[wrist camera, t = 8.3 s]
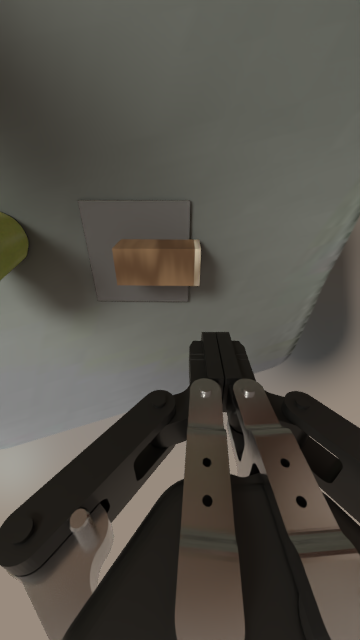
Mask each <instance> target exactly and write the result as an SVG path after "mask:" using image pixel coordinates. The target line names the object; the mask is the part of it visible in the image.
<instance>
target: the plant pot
mask: <svg viewBox="0 0 360 640" xmlns="http://www.w3.org/2000/svg"><path fill="white" fill-rule="evenodd" d="M28 245H29V243H28V239H27V236H26V234H25V232H24V230H23V229H22V227H21V226H20V225H19V224H18V222H17V221H15V220H14V219H13V218H12V217H10V216H8V215H6V214H4V213H2V212H0V280H1V279H2V278H4V277H5V276H6V275H7V274H8V273H9V272H10V271H11V270H12V269H13V268H15V267H16V266H17V265H18V264H19V263H20V262H21V261H22V260H24V259H25V257H26V256H27V251H28Z"/></svg>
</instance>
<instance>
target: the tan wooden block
mask: <svg viewBox="0 0 360 640" xmlns="http://www.w3.org/2000/svg"><path fill="white" fill-rule="evenodd" d="M112 252H113V259H114V266H115V273H116V279H117V285H141V286H199V283H200V261H201V246H200V242H199V240H170V239H121V240H120V241H119V242H118V243H117V244H116V245H115V246H114V247H113V248H112Z"/></svg>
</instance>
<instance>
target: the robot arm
mask: <svg viewBox="0 0 360 640" xmlns="http://www.w3.org/2000/svg"><path fill="white" fill-rule="evenodd" d="M189 378H190V386H189V387H188V388H187V389H186V390H185V391H184V392H182V393H179V394H176V395H172V394H171V393H169V392H168V391H164V390H156V391H153V392H151V393H149V394H148V395H147V396H145V397H144V398H143V399H142V400H141V401H140V402H139V403H137V404H136V405H135V406H134V407H133V408H132V409H131V410H129V411H128V412H127V413H126V414H125V415H124V416H123V417H122V418H120V419H119V420H118V421H117V422H116V423H115V424H114V425H112V426H111V427H110V428H109V429H108V430H107V431H106V432H104V433H103V434H102V435H101V436H100V437H99V438H97V439H96V440H95V441H94V442H93V443H92V444H91V445H90V446H88V447H87V448H86V449H85V450H84V451H83V452H81V453H80V454H79V455H78V456H77V457H76V458H75V459H74V460H72V461H71V462H70V463H69V464H68V465H67V466H66V467H64V468H63V469H62V470H61V471H60V472H59V473H58V474H56V475H55V476H54V477H53V478H52V479H51V480H50V481H48V482H47V483H46V484H45V485H44V486H43V487H42V488H40V489H39V490H38V491H37V492H36V493H35V494H34V495H32V496H31V497H30V498H29V499H28V500H27V501H26V502H25V503H24V504H22V505H21V506H20V507H19V508H18V509H16V510H15V511H14V512H13V513H12V514H11V515H10V516H9V517H8V518H7V519H6V520H5V522H4V523H3V525H2V526H1V528H0V565H1V566H2V567H4V568H5V569H6V570H7V572H8V573H9V574H10V575H11V576H12V577H14V578H15V579H16V580H18V581H19V582H21V583H22V584H23V585H24V587H25V589H26V591H27V594H28V596H29V598H30V600H31V602H32V604H33V606H34V608H35V610H36V612H37V615H38V617H39V619H40V621H41V623H42V625H43V627H44V629H45V631H46V634H47V636H48V638H49V640H360V526H359V525H358V524H357V523H356V522H355V521H354V520H352V518H350V517H349V516H348V515H347V514H346V513H345V512H344V511H343V510H342V509H341V508H340V507H339V506H338V505H337V504H336V503H334V502H333V501H332V500H331V499H330V498H329V497H328V496H327V495H325V494H324V493H323V492H321V490H320V488H321V489H322V490H323V491H325V492H326V493H327V494H328V495H329V496H330V497H331V498H332V499H334V500H335V501H336V502H337V503H338V504H339V505H340V506H341V507H343V508H344V509H345V510H346V511H347V512H348V513H349V514H350V515H351V516H353V517H354V518H355V519H356V520H357V521H358V522H359V523H360V428H359V427H357V426H356V425H354V424H352V423H351V422H349V421H348V420H346V419H345V418H343V417H342V416H340V415H339V414H337V413H336V412H334V411H333V410H331V409H329V408H328V407H326V406H325V405H323V404H322V403H320V402H319V401H317V400H316V399H314V398H313V397H311V396H309V395H308V394H305V393H303V392H298V391H292V392H289V393H287V394H286V396H285V397H282V396H278V395H275V394H271V393H268V392H266V391H265V390H264V389H263V387H262V386H261V385H260V384H259V383H258V382H256V380H255V377H254V374H253V371H252V368H251V366H250V363H249V360H248V357H247V355H246V351H245V348H244V346H243V345H242V344H241V343H240V342H239V341H231V338H230V334H229V332H202V337H201V341H193V342H192V344H191V345H190V350H189ZM223 412H227V416H228V422H227V428H228V432H229V437H230V440H231V444H232V448H233V452H234V456H235V460H236V464H237V472H238V476H235V475H232V474H230V468H229V456H228V445H227V434H226V430H225V429H224V424H223ZM309 436H311V437H312V438H313V439H314V440H316V441H317V442H318V443H320V444H321V445H322V446H324V447H325V448H326V449H327V450H329V451H330V452H331V453H333V454H334V455H335V456H336V457H338V458H339V459H338V458H336V457H335V456H334V455H333V454H331V453H330V452H329V451H327V450H326V449H325V448H323V447H322V446H321V445H320V444H318V443H317V442H316V441H314V440H313V439H312V438H310V437H309ZM186 440H187V441H186ZM183 441H186V457H185V473H184V479H183V480H180V481H178V482H176V483H175V484H173V485H172V486H170V487H169V488H168V489H167V490H166V491H165V492H164V493H163V494H162V495H161V496H160V498H159V499H158V500H157V502H156V503H155V505H154V506H153V507H152V509H151V510H150V512H149V513H148V515H147V516H146V517H145V519H144V520H143V522H142V523H141V525H140V526H139V527H138V529H137V530H136V532H135V533H134V535H133V536H132V538H131V539H130V540H129V542H128V543H127V545H126V547H125V548H124V549H123V550H122V552H121V553H120V555H119V556H118V558H117V559H116V561H115V562H114V563H113V565H112V566H111V568H110V569H109V571H108V572H107V573H106V575H105V576H104V578H103V579H102V581H101V582H100V583H99V585H98V586H97V581H98V576H99V572H100V569H101V566H102V564H103V562H104V561H105V559H106V557H107V556H108V554H109V552H110V550H111V547H112V543H113V536H114V535H113V528H112V525H111V522H112V521H113V520H114V519H115V518H116V516H117V515H118V514H119V513H120V512H121V511H122V509H123V508H124V507H125V506H126V504H127V503H128V502H129V501H130V500H131V499H132V497H133V496H134V495H135V494H136V492H137V491H138V490H139V489H140V488H141V486H142V485H143V484H144V483H145V482H146V480H147V479H148V478H149V477H150V476H151V474H152V473H153V472H154V471H155V470H156V468H157V467H158V466H159V465H160V464H161V462H162V461H163V460H164V459H165V458H166V456H167V455H168V454H169V453H170V452H171V450H172V449H173V448H174V446H175V444H178V443H181V442H183ZM319 487H320V488H319Z"/></svg>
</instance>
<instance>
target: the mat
mask: <svg viewBox="0 0 360 640" xmlns="http://www.w3.org/2000/svg"><path fill="white" fill-rule="evenodd" d="M78 204H79V209H80V214H81V219H82V224H83V229H84V234H85V239H86V244H87V249H88V254H89V259H90V264H91V269H92V274H93V279H94V283H95V288H96V293H97V298H98V301H166V302H188V286H141V285H117V279H116V273H115V266H114V259H113V252H112V248H113V247H114V246H115V245H116V244H117V243H118V242H119V241H120V240H121V239H170V240H189V233H190V200H78Z"/></svg>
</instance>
